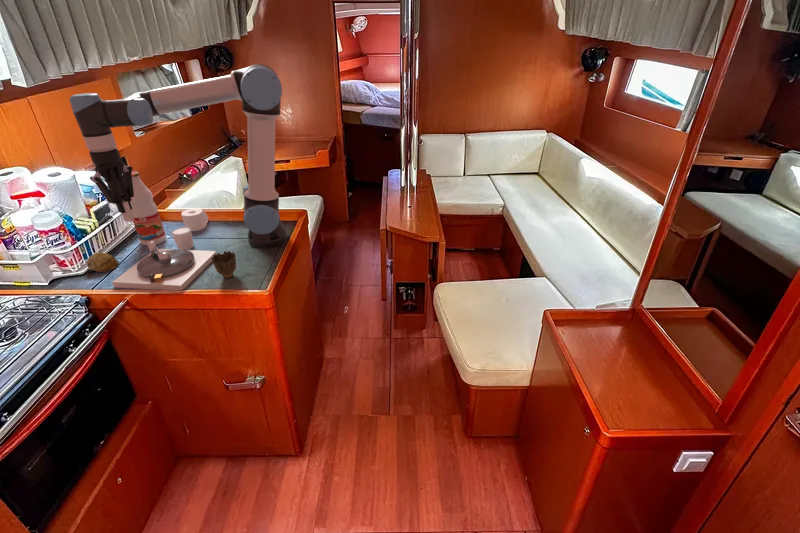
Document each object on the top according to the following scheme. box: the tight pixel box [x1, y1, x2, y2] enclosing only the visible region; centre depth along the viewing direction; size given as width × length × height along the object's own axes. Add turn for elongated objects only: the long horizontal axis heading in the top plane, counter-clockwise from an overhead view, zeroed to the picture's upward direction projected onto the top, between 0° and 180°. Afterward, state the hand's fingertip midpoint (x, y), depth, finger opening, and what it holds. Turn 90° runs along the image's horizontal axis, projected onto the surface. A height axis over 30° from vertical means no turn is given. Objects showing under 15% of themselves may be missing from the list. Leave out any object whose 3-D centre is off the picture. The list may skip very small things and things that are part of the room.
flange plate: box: [137, 241, 195, 282], centre depth 146 cm, size 18×20×7 cm
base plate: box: [111, 248, 218, 291], centre depth 148 cm, size 24×24×5 cm
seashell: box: [86, 252, 120, 273], centre depth 151 cm, size 10×7×8 cm
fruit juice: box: [130, 170, 167, 247], centre depth 163 cm, size 9×9×28 cm
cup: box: [212, 250, 237, 279], centre depth 143 cm, size 8×7×8 cm
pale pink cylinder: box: [171, 226, 195, 250], centre depth 164 cm, size 7×7×7 cm
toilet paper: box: [180, 206, 209, 232], centre depth 181 cm, size 8×11×7 cm
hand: (129, 220), depth 139 cm, fingers closed
